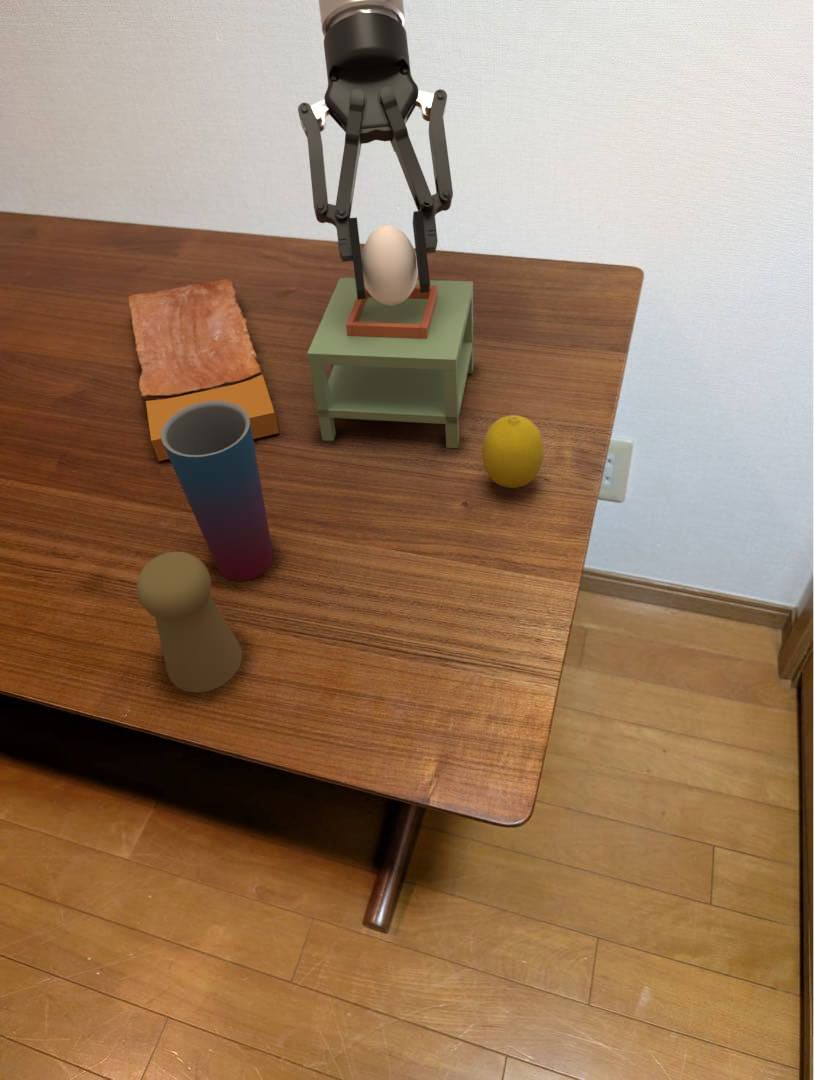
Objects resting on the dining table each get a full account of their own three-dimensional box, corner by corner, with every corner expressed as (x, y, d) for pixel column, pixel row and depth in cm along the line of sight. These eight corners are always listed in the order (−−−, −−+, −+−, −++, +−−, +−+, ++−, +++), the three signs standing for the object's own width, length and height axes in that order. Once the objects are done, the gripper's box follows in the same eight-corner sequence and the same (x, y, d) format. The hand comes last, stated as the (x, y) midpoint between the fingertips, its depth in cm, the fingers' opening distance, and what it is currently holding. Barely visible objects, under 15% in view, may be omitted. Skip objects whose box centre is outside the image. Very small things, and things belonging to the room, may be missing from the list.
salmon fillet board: (154, 464, 84) (145, 439, 82) (134, 317, 104) (126, 293, 102) (281, 434, 86) (275, 409, 84) (237, 296, 106) (231, 272, 104)
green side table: (473, 367, 92) (472, 270, 84) (457, 448, 83) (455, 348, 75) (350, 362, 95) (338, 266, 86) (322, 440, 85) (305, 342, 77)
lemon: (477, 501, 78) (477, 434, 72) (487, 463, 81) (488, 396, 75) (536, 508, 76) (541, 441, 71) (544, 469, 80) (549, 402, 74)
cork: (192, 622, 70) (155, 531, 62) (255, 641, 68) (226, 549, 60) (152, 680, 66) (107, 590, 58) (218, 701, 64) (181, 611, 56)
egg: (414, 319, 78) (409, 241, 73) (358, 316, 79) (349, 239, 73) (424, 289, 82) (420, 213, 76) (371, 287, 83) (364, 212, 77)
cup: (235, 601, 71) (191, 469, 60) (192, 560, 74) (143, 428, 64) (298, 559, 74) (267, 426, 63) (254, 521, 77) (218, 389, 67)
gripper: (460, 47, 79) (487, 292, 79) (269, 66, 78) (297, 312, 79) (468, -3, 71) (498, 268, 72) (257, 18, 71) (288, 290, 71)
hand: (393, 291), depth 75 cm, fingers closed on egg, 5 cm apart
